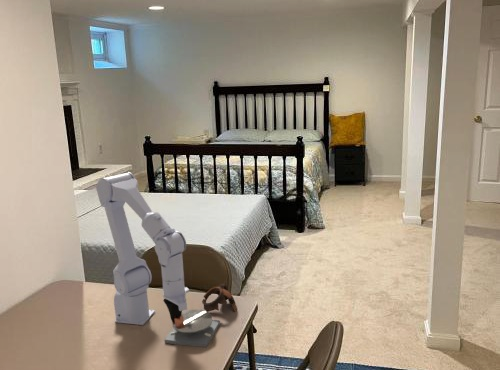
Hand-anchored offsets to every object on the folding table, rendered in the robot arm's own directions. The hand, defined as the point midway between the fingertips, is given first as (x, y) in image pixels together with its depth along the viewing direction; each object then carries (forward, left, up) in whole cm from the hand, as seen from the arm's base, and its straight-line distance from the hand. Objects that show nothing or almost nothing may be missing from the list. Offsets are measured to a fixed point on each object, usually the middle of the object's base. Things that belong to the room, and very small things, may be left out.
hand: (176, 322), depth 125 cm
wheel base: (+3, +3, -5) cm, 7 cm away
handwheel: (+3, +3, -3) cm, 6 cm away
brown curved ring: (+7, +18, -5) cm, 20 cm away
